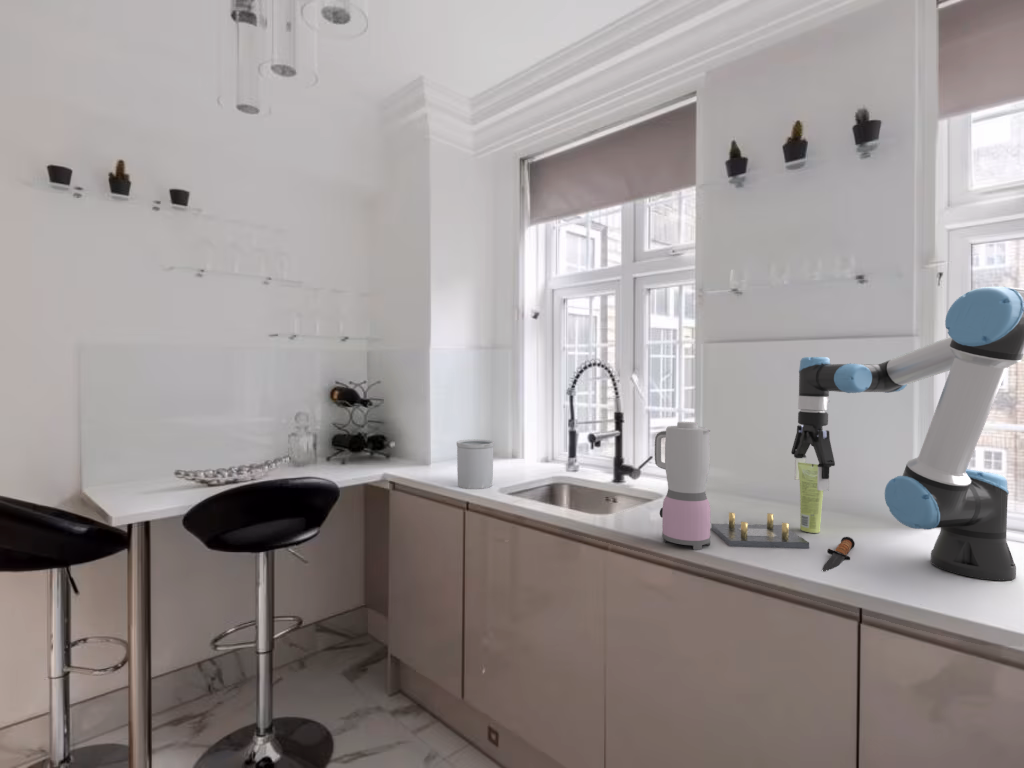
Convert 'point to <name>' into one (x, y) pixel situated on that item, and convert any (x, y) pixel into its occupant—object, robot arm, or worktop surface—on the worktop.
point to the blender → (685, 484)
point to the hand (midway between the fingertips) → (810, 485)
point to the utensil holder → (475, 463)
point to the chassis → (758, 534)
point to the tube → (809, 498)
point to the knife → (839, 553)
